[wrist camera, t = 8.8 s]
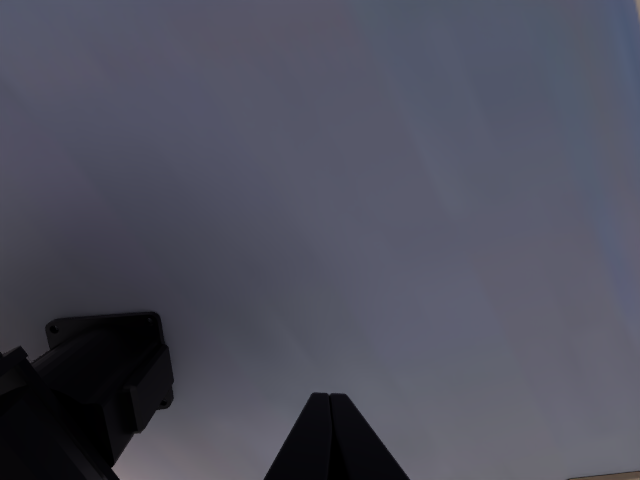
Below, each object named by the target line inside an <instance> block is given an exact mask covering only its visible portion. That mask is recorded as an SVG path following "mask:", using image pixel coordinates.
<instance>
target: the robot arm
mask: <svg viewBox="0 0 640 480" xmlns="http://www.w3.org/2000/svg"><path fill="white" fill-rule="evenodd" d="M148 318H150V319H152V320H153V322H154V323H150V322H149V321H148ZM55 326H57V327H58V329H59V330H57V329H56V328H55ZM45 331H46V335H47V339H48V343H49V347H50V350H49V351H47V352H46V353H44V354H43V355H42V356H40V357H39V358H37V359H36V360H34V361H33V362H31V363H29V361H28V360H27V359H26V357H27V356H28V355H27V353H26V352H25V351H24V350H23V348H22V347H21V346H19V347H17V348H15V349H12V350H10V351H8V352H6V353H4V354H2V353H1V352H0V480H120V479H119V478H118V477H117V475H116V474H115V473H114V471H113V470H112V469H111V468H112V467H113V466H114V465H115V463H116V461H117V460H118V458H119V457H120V455H121V454H122V452H123V451H124V449H125V447H126V446H127V444H128V443H129V441H130V440H131V438H132V437H133V435H134V434H137V433H141V432H142V431H143V430H144V429H145V428H146V426H147V424H148V423H149V421H150V419H151V418H152V416H153V415H154V413H155V411H156V410H160V409H166V408H168V407H170V405H171V403H172V402H173V399H174V397H173V391H172V384H173V382H174V379H173V372H172V366H171V360H170V354H169V348H168V346H167V345H166V344H165V342H164V336H163V330H162V324H161V319H160V316H159V315H158V314H157V313H155V312H141V313H128V314H115V315H101V316H88V317H75V318H61V319H55V320H53V321H51V322H49V323H48V324H47V325H46V327H45ZM163 399H166V400H167V401H163ZM264 480H410V479H409V477H408V476H407V475H406V473H405V472H404V471H403V469H402V468H401V467H400V465H399V464H398V463H397V461H396V460H395V459H394V457H393V456H392V455H391V453H390V452H389V451H388V449H387V448H386V447H385V445H384V444H383V443H382V441H381V440H380V439H379V437H378V436H377V435H376V433H375V432H374V430H373V429H372V428H371V426H370V425H369V424H368V422H367V421H366V420H365V418H364V417H363V416H362V414H361V413H360V412H359V410H358V409H357V408H356V406H355V405H354V404H353V402H352V401H351V400H350V398H349V397H348V396H347V395H346V394H341V393H331V394H330V395H329V394H328V393H317V392H314V393H312V394H311V396H310V398H309V399H308V401H307V403H306V405H305V407H304V408H303V410H302V412H301V414H300V415H299V417H298V419H297V421H296V423H295V424H294V426H293V428H292V430H291V431H290V433H289V435H288V437H287V439H286V440H285V442H284V444H283V446H282V448H281V449H280V451H279V453H278V455H277V456H276V458H275V460H274V462H273V464H272V465H271V467H270V469H269V471H268V472H267V474H266V476H265V478H264Z"/></svg>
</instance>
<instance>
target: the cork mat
mask: <svg viewBox="0 0 640 480" xmlns="http://www.w3.org/2000/svg"><path fill="white" fill-rule="evenodd" d="M569 480H640V471H639V472H630V473H620V474H611V475H602V476H593V477H584V478H575V479H569Z"/></svg>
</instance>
